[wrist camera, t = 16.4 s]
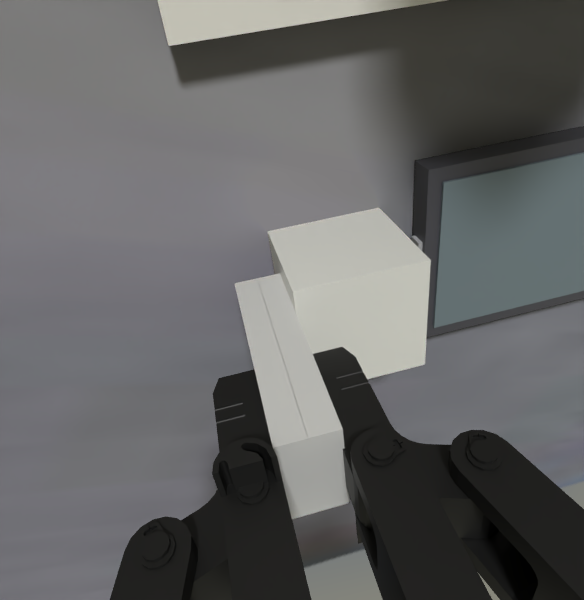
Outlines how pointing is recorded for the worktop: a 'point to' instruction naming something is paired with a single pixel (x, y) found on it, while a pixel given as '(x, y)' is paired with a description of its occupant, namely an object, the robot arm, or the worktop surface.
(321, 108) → the worktop surface
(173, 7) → the plate
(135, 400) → the worktop surface
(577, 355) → the worktop surface
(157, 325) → the worktop surface
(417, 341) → the white cube
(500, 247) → the phone
